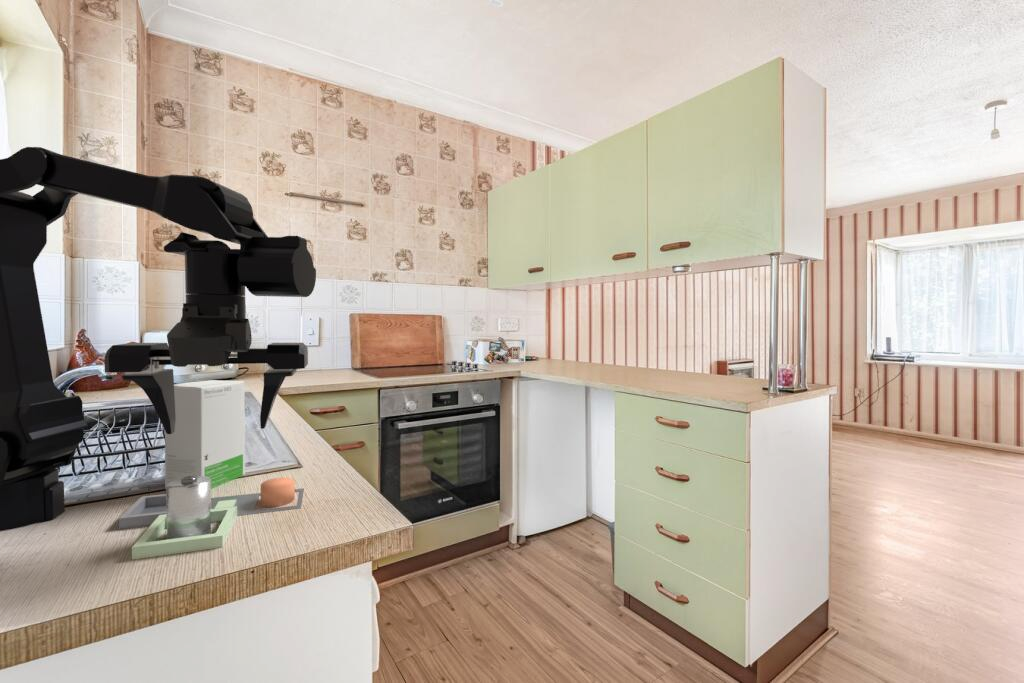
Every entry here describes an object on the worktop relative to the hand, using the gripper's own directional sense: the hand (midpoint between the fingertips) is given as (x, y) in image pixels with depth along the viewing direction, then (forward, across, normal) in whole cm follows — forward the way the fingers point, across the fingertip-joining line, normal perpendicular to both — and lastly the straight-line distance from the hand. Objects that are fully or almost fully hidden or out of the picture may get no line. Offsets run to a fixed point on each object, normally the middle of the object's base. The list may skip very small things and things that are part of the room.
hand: (218, 430), depth 52 cm
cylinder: (+11, +5, +6) cm, 14 cm away
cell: (+12, -2, -2) cm, 12 cm away
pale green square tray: (+12, -2, -2) cm, 13 cm away
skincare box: (+12, -5, +17) cm, 21 cm away
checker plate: (+12, -2, +6) cm, 14 cm away
